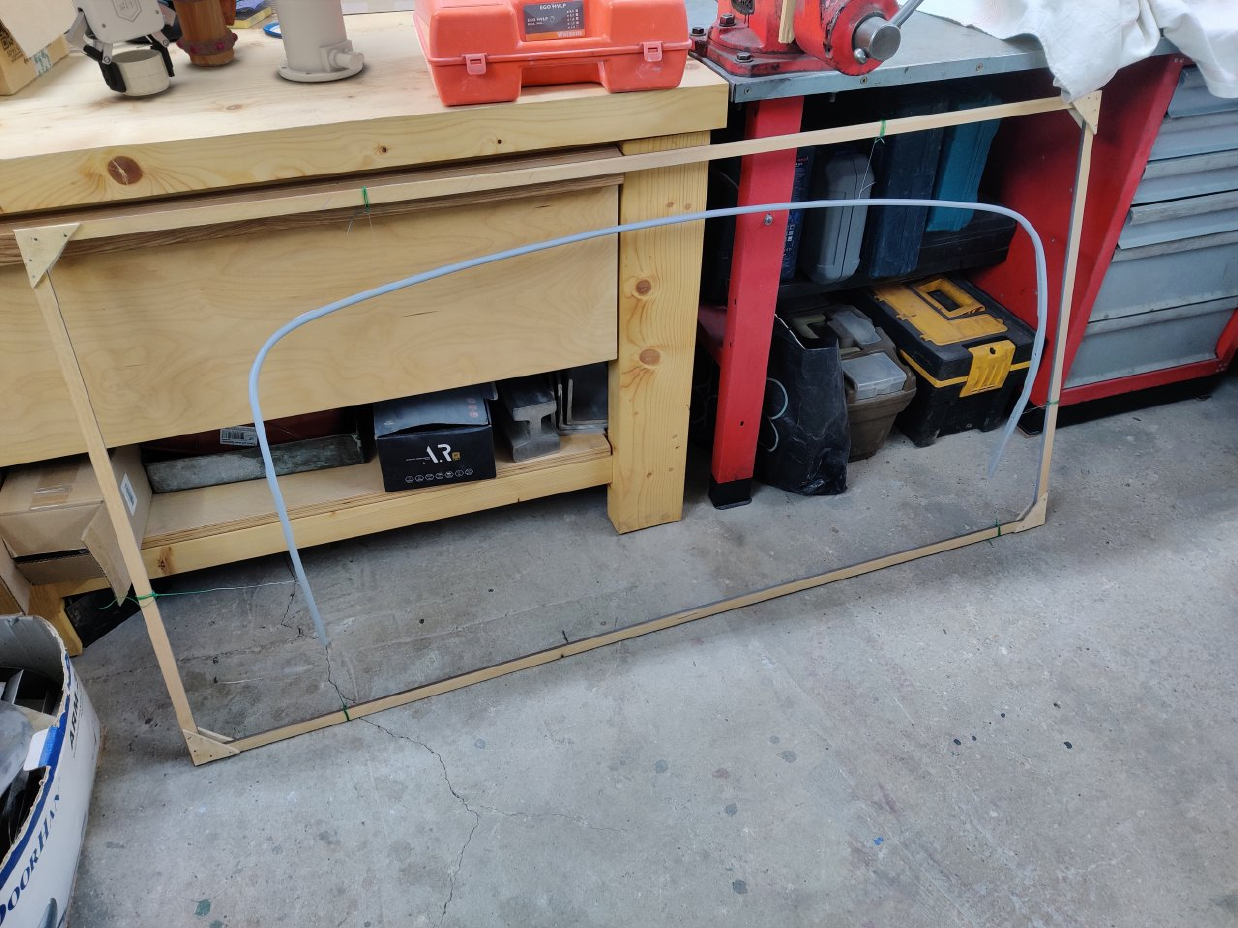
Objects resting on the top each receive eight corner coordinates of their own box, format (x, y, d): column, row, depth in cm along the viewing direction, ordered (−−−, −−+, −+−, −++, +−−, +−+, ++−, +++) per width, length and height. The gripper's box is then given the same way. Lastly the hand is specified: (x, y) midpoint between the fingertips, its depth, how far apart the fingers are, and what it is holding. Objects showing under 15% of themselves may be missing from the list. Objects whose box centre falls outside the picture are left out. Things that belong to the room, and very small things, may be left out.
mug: (220, 73, 137) (190, -36, 127) (173, 70, 138) (140, -39, 128) (267, 48, 148) (243, -55, 138) (223, 45, 149) (196, -56, 140)
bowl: (181, 85, 130) (170, 53, 127) (138, 99, 125) (126, 66, 122) (152, 78, 133) (141, 46, 130) (108, 91, 128) (96, 59, 126)
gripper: (47, -40, 110) (104, 105, 122) (167, -64, 121) (209, 71, 133) (15, -46, 113) (73, 96, 125) (135, -68, 124) (178, 64, 136)
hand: (143, 82), depth 129 cm, fingers closed on bowl, 7 cm apart
